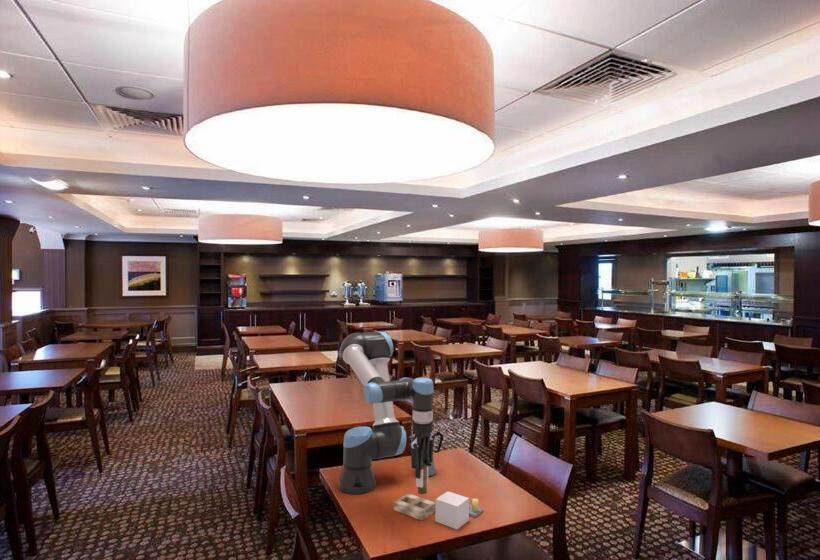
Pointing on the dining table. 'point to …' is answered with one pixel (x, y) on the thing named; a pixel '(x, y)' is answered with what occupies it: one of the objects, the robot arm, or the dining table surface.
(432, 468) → the moka pot
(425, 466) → the peg
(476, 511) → the board
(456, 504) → the white cube block
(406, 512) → the socket board
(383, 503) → the dining table surface
